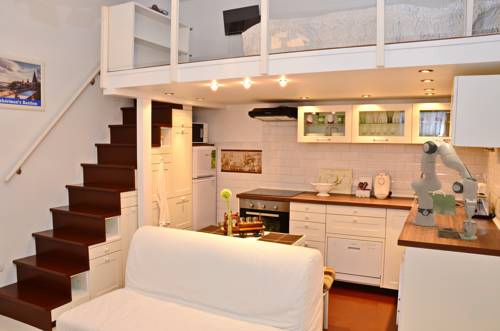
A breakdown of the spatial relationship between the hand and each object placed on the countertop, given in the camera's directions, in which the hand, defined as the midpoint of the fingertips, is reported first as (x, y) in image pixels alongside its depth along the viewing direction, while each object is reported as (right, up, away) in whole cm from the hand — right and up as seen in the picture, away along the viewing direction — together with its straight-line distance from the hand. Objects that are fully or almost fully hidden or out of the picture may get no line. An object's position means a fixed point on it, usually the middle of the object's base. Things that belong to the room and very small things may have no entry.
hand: (468, 219), depth 277 cm
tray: (0, -14, +1) cm, 14 cm away
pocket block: (-12, -13, +5) cm, 19 cm away
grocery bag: (+25, -8, +98) cm, 101 cm away
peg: (0, -13, +1) cm, 13 cm away
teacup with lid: (+8, -13, +16) cm, 23 cm away
